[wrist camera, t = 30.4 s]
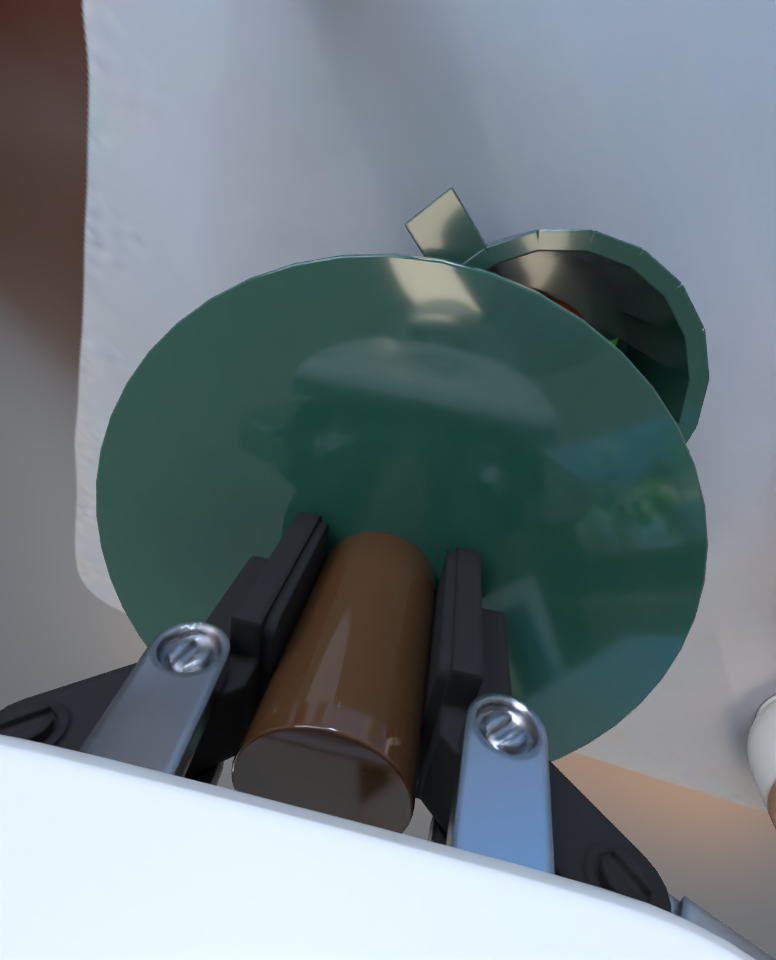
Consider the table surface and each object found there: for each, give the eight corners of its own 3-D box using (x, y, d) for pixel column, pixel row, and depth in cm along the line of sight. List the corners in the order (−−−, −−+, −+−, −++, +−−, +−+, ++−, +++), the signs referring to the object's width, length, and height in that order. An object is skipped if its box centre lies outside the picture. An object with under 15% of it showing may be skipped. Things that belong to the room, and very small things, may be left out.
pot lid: (481, 78, 9) (498, -208, 3) (785, 644, 13) (1047, 981, 7) (20, 471, 14) (-304, 636, 8) (336, 800, 18) (270, 1075, 12)
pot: (544, 133, 28) (582, 80, 19) (695, 420, 33) (783, 485, 24) (345, 288, 33) (299, 304, 24) (504, 520, 38) (517, 607, 29)
